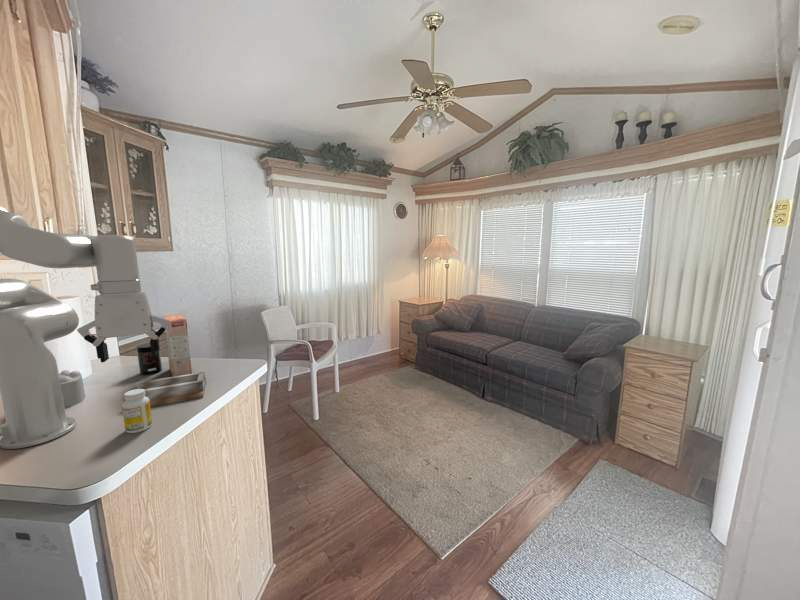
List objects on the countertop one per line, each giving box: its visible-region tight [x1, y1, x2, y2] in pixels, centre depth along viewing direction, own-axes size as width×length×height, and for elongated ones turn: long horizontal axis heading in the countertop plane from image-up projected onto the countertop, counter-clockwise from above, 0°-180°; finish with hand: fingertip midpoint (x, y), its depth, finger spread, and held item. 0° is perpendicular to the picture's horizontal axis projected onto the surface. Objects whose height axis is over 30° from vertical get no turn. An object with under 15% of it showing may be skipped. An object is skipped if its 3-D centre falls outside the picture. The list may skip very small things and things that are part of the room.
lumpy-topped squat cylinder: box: [58, 369, 86, 408], centre depth 98 cm, size 10×13×9 cm
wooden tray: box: [135, 371, 207, 408], centre depth 101 cm, size 18×14×4 cm
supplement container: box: [135, 342, 163, 376], centre depth 121 cm, size 7×7×10 cm
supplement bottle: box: [121, 388, 153, 434], centre depth 82 cm, size 5×5×10 cm
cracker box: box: [163, 314, 193, 377], centre depth 120 cm, size 14×6×21 cm, turn 40°
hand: (130, 357), depth 80 cm, fingers open, 9 cm apart
